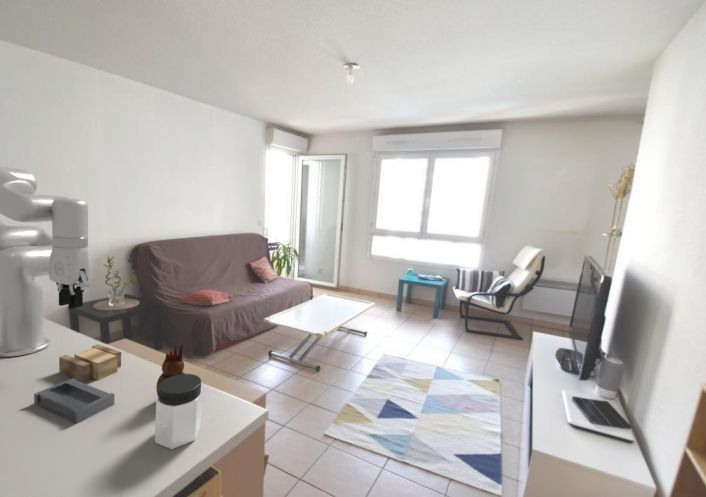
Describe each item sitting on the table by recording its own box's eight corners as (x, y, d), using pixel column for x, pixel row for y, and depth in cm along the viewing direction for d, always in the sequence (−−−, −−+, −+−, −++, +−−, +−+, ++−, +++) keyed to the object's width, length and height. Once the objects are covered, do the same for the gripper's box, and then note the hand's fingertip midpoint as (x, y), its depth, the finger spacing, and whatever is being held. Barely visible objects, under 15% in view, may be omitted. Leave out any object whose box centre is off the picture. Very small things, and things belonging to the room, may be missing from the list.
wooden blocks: (59, 372, 88) (59, 357, 87) (97, 358, 97) (97, 344, 97) (83, 382, 85) (83, 366, 84) (120, 366, 94) (121, 352, 93)
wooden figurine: (191, 396, 83) (193, 341, 81) (177, 410, 77) (179, 351, 76) (167, 392, 84) (169, 338, 82) (151, 405, 78) (152, 347, 76)
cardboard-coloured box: (74, 371, 90) (74, 354, 89) (94, 363, 94) (94, 347, 94) (98, 380, 86) (98, 363, 86) (117, 372, 91) (117, 356, 90)
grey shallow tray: (34, 404, 75) (34, 393, 74) (73, 387, 82) (73, 377, 82) (76, 423, 70) (76, 412, 69) (114, 404, 77) (114, 394, 77)
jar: (145, 440, 67) (147, 387, 66) (177, 417, 75) (179, 369, 73) (179, 454, 64) (181, 398, 63) (208, 429, 72) (211, 379, 71)
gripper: (35, 240, 89) (36, 303, 91) (74, 247, 83) (74, 315, 86) (67, 238, 96) (67, 297, 98) (105, 245, 91) (104, 308, 93)
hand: (70, 305), depth 92 cm, fingers open, 3 cm apart
